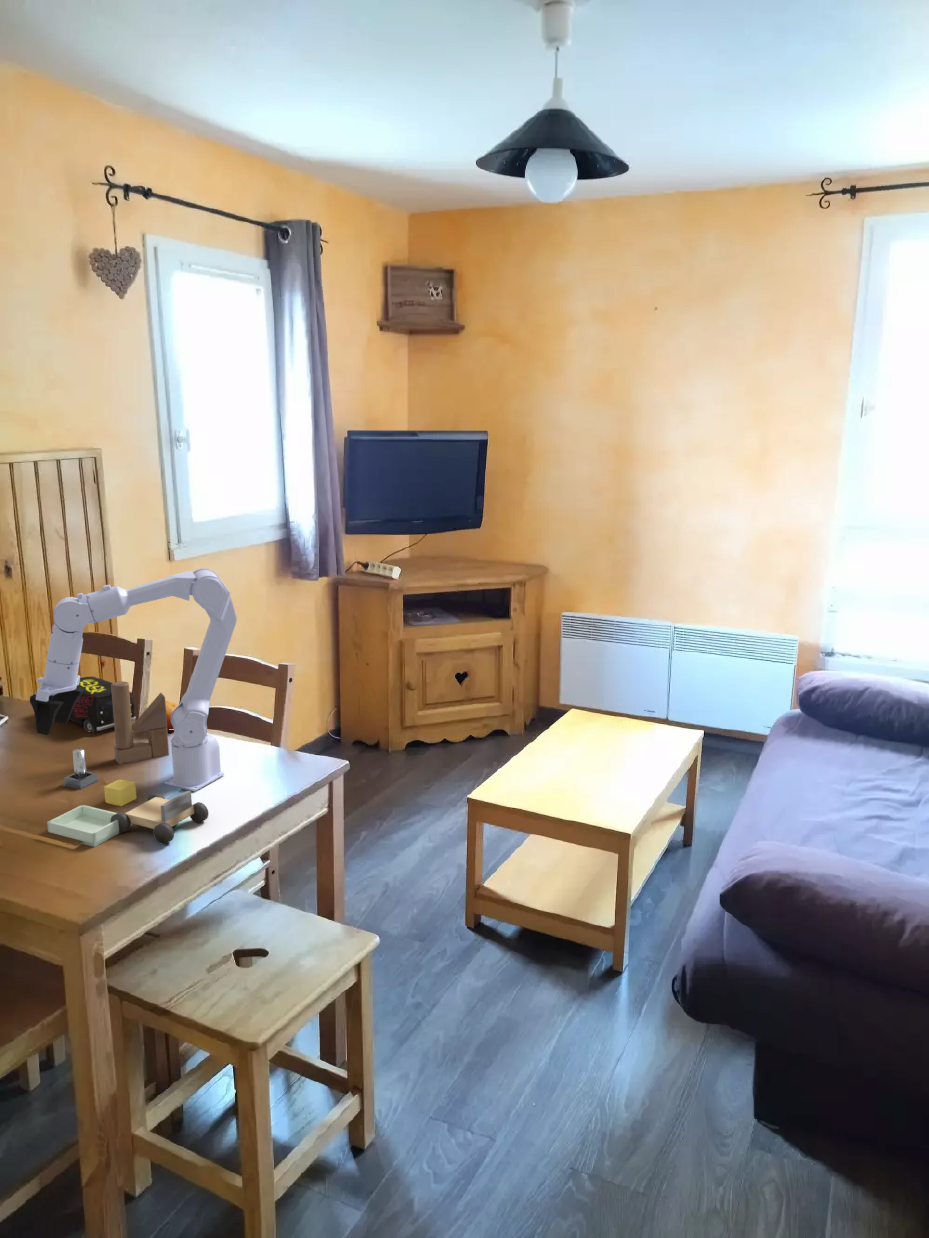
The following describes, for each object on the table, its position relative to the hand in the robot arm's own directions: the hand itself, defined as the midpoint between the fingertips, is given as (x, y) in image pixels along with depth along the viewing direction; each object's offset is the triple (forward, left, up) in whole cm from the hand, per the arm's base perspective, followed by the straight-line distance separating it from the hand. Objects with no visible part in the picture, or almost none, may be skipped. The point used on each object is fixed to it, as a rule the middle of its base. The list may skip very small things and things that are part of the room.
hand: (52, 728), depth 170 cm
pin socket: (-7, -2, -15) cm, 17 cm away
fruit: (-40, -9, -15) cm, 44 cm away
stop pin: (-7, -2, -14) cm, 16 cm away
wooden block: (-23, -1, -15) cm, 28 cm away
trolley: (0, +26, -15) cm, 30 cm away
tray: (+7, +15, -15) cm, 23 cm away
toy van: (-37, -31, -15) cm, 51 cm away
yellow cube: (-4, +12, -15) cm, 20 cm away
